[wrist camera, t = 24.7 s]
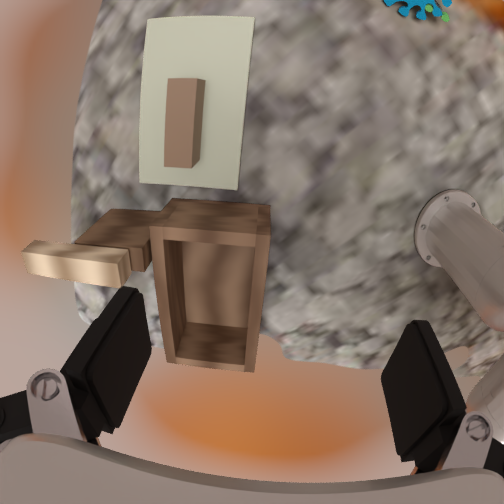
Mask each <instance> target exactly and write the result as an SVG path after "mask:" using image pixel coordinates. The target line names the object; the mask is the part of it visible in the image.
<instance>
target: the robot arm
mask: <svg viewBox="0 0 504 504" xmlns="http://www.w3.org/2000/svg"><path fill="white" fill-rule="evenodd" d="M415 245H416V248H417V251H418V253H419V254H420V256H421V257H422V258H423V260H424V261H425V262H427V263H428V264H430V265H432V266H435V267H443V268H444V270H445V271H446V272H447V273H448V275H449V276H450V277H451V279H452V280H453V281H454V282H455V284H456V285H457V286H458V288H459V289H460V290H461V292H462V293H463V294H464V296H465V297H466V298H467V300H468V301H469V302H470V304H471V305H472V307H473V308H474V309H475V311H476V312H477V313H478V315H479V316H480V318H481V319H482V320H483V322H484V323H485V324H486V325H487V326H489V327H490V328H492V329H494V330H496V331H500V332H504V233H503V232H501V231H500V230H499V229H498V228H496V227H495V226H494V225H493V224H491V223H490V222H489V221H488V220H486V219H485V218H484V217H482V216H481V211H480V207H479V205H478V203H477V202H476V200H475V199H474V198H473V197H472V196H470V195H469V194H468V193H466V192H464V191H461V190H447V191H444V192H442V193H440V194H438V195H436V196H435V197H434V198H432V199H431V200H430V201H429V202H428V203H427V204H426V206H425V207H424V209H423V210H422V212H421V214H420V216H419V218H418V220H417V224H416V228H415ZM151 349H152V348H151V341H150V336H149V330H148V324H147V318H146V312H145V305H144V299H143V295H142V294H141V293H139V291H138V289H137V288H132V287H126V286H121V287H120V288H119V290H118V291H117V292H116V294H115V295H114V296H113V298H112V299H111V300H110V302H109V303H108V305H107V306H106V307H105V309H104V310H103V312H102V313H101V314H100V316H99V317H98V318H97V319H95V320H94V321H93V322H92V324H91V325H90V327H89V328H88V330H87V331H86V333H85V334H84V336H83V337H82V338H81V340H80V341H79V343H78V344H77V346H76V347H75V349H74V350H73V352H72V353H71V355H70V356H69V358H68V359H67V361H66V363H65V364H64V366H63V367H62V369H61V370H60V372H59V371H57V370H55V369H43V370H40V371H38V372H36V373H35V374H33V375H32V377H31V378H30V379H29V381H28V384H27V390H25V391H21V392H18V393H15V394H12V395H9V396H6V397H2V398H0V504H504V354H503V355H502V356H501V357H500V358H499V360H498V361H497V362H496V363H495V364H494V365H493V367H492V368H491V369H490V370H489V371H488V372H487V373H486V374H485V375H484V377H483V378H482V379H481V380H480V381H479V382H478V384H477V385H476V386H475V387H474V388H473V390H472V391H471V392H470V394H469V396H468V398H467V401H466V404H465V402H464V399H463V396H462V394H461V392H460V389H459V387H458V384H457V382H456V379H455V377H454V375H453V372H452V370H451V368H450V365H449V363H448V361H447V359H446V357H445V354H444V352H443V350H442V348H441V346H440V344H439V342H438V340H437V337H436V335H435V333H434V331H433V329H432V327H431V325H430V323H429V322H428V321H426V320H413V321H412V322H411V323H410V324H407V326H406V327H405V329H404V332H403V334H402V336H401V338H400V340H399V342H398V344H397V346H396V348H395V349H394V351H393V353H392V355H391V357H390V359H389V361H388V363H387V365H386V366H385V368H384V370H383V372H382V375H381V382H382V387H383V391H384V395H385V399H386V403H387V408H388V413H389V417H390V422H391V427H392V432H393V437H394V442H395V447H396V452H397V454H398V455H400V457H401V461H402V462H407V461H413V460H414V461H415V467H414V469H413V471H412V472H411V474H410V475H409V476H401V477H395V478H386V479H378V480H368V481H356V482H336V483H290V482H289V483H288V482H271V481H259V480H248V479H239V478H231V477H224V476H217V475H211V474H205V473H199V472H194V471H189V470H184V469H180V468H175V467H170V466H166V465H162V464H158V463H154V462H151V461H147V460H143V459H139V458H136V457H132V456H129V455H126V454H122V453H119V452H116V451H112V450H110V449H107V448H104V447H102V446H101V444H100V441H99V439H98V437H99V436H100V433H101V431H104V432H107V433H110V434H113V431H114V429H115V428H119V427H120V425H121V423H122V421H123V418H124V416H125V413H126V411H127V408H128V406H129V404H130V401H131V399H132V396H133V394H134V392H135V390H136V387H137V385H138V383H139V380H140V378H141V376H142V373H143V371H144V369H145V367H146V365H147V362H148V360H149V358H150V355H151Z"/></svg>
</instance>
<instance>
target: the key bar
mask: <svg viewBox="0 0 504 504" xmlns="http://www.w3.org/2000/svg"><path fill="white" fill-rule="evenodd" d="M21 253H22V257H23V260H24V263H25V267H26V270H27V273H30V274H35V275H41V276H46V277H52V278H58V279H64V280H69V281H76V282H82V283H88V284H95V285H101V286H108V287H115V288H120V287H121V286H123V285H124V284H125V282H126V281H127V279H128V278H129V276H130V275H131V273H132V272H131V266H130V259H129V251H128V249H118V248H108V247H98V246H88V245H78V244H67V243H57V242H48V241H38V240H34V241H33V242H32V243H31V244H29V245H28V246H27V247H26V248H25V249H24V250H23V251H21Z"/></svg>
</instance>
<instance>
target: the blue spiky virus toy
mask: <svg viewBox="0 0 504 504" xmlns="http://www.w3.org/2000/svg"><path fill="white" fill-rule="evenodd" d="M398 1H405V2H407V3H408V5H407V6H401V7H400V8H399V12H400V13H401V14H402V15H404V16H405V17H406V16H408V14H409V10H410V8H412V7H413V6H415V5H419V6H420V7H421V9H420V10H419V11H417V13H416V16H417V18H419V19H422V20H426V14H425V11H424V10H425V9H426V11H428V12H432V13H433V15H434V16H441V18H442V20H443V21H445V22H448V21H449V16H448V14H447V13H446V12H442V8H441V6H440V5H439V4H438V3H437V1H436V0H384V2H385V3H386V5H387V6H391V5H392V4H393V3H395V2H398ZM442 3H443V5H444V6H446V7H449V6H450V5H451V4H452V1H451V0H442Z"/></svg>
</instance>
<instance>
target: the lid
mask: <svg viewBox="0 0 504 504" xmlns="http://www.w3.org/2000/svg"><path fill="white" fill-rule="evenodd" d="M254 24H255V17H239V16H181V17H165V18H154V19H148V21H147V29H146V38H145V47H144V57H143V69H142V82H141V99H140V126H139V180H140V183H151V184H167V185H182V186H195V187H207V188H218V189H229V190H237V189H238V181H239V170H240V159H241V148H242V137H243V127H244V117H245V107H246V97H247V87H248V78H249V68H250V59H251V50H252V41H253V32H254Z"/></svg>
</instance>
